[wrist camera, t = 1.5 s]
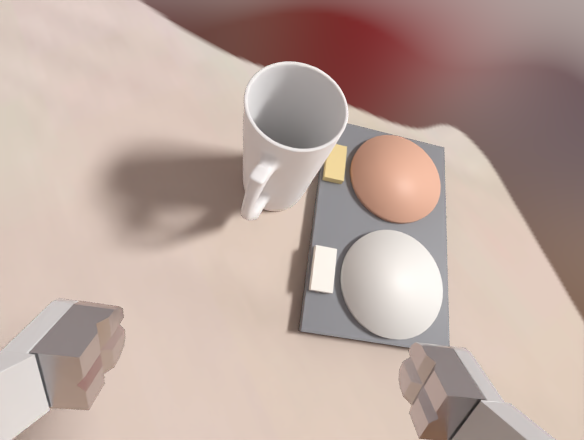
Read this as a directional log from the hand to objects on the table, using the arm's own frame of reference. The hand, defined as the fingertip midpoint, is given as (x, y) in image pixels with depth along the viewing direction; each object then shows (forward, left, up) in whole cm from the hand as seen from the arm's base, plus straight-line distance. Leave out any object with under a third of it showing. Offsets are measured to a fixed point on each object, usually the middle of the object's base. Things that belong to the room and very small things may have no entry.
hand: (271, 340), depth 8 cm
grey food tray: (+12, +11, -18) cm, 24 cm away
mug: (0, +12, -18) cm, 22 cm away
